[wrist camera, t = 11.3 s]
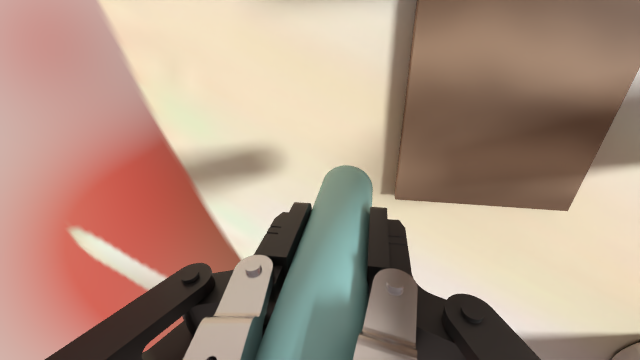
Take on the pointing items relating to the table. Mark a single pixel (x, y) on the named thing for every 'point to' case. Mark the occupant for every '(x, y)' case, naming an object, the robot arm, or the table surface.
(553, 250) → the table surface
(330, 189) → the teal dowel
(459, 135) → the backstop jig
